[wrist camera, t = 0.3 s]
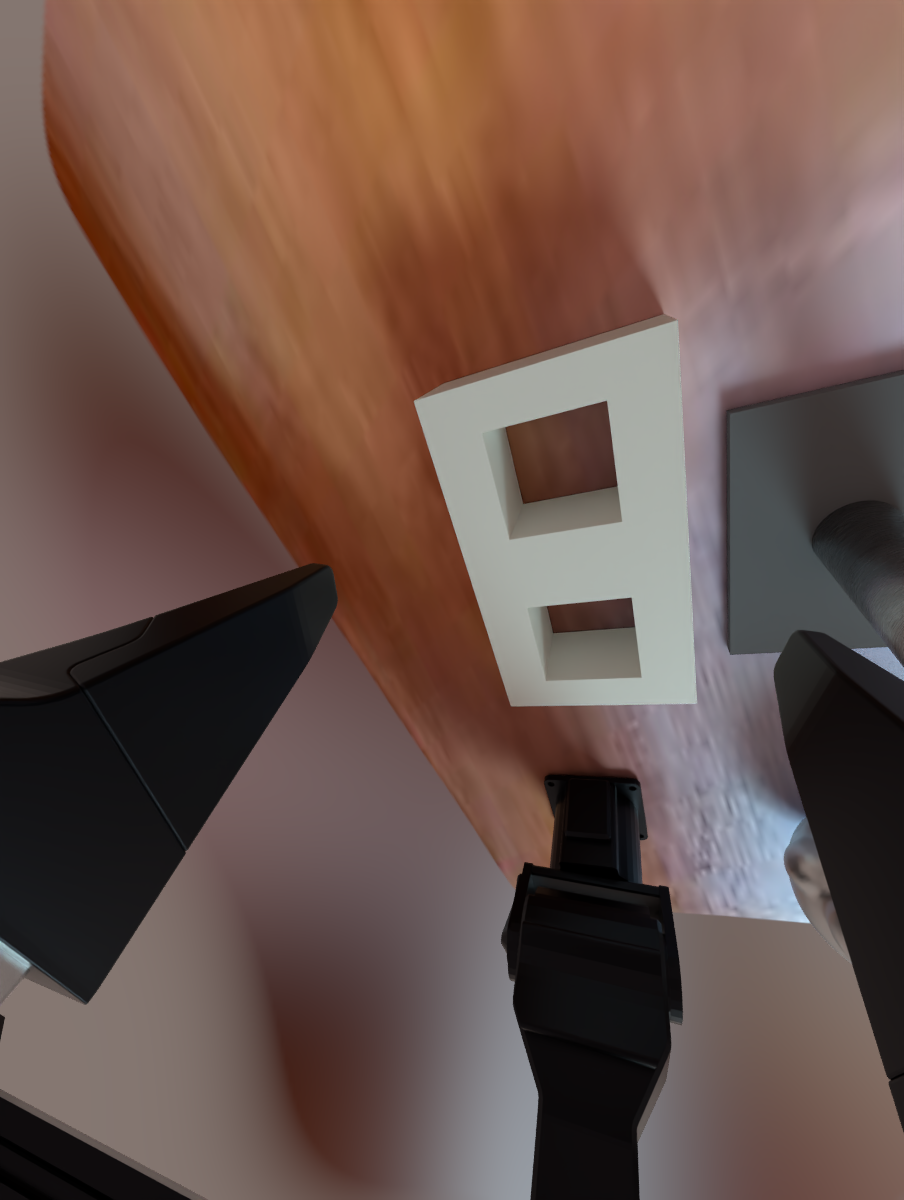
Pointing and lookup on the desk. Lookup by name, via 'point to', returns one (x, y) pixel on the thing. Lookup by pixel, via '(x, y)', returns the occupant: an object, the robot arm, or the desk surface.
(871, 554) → the peg
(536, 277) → the desk surface
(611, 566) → the hole block
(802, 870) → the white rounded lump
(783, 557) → the mat
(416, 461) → the desk surface
